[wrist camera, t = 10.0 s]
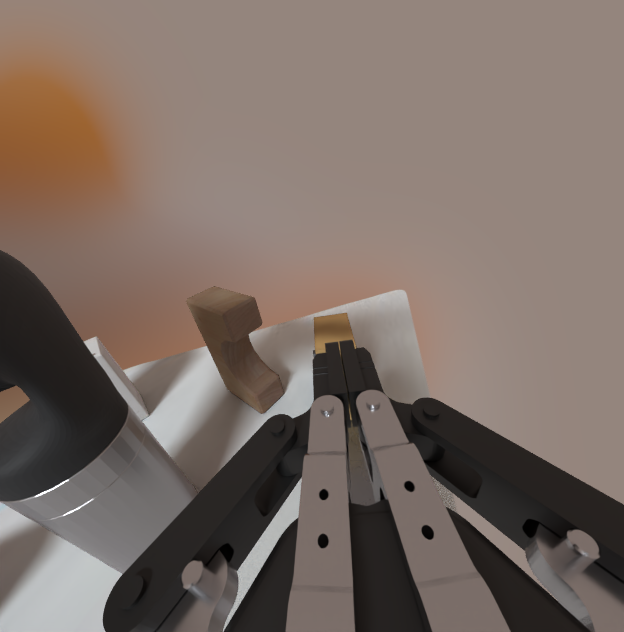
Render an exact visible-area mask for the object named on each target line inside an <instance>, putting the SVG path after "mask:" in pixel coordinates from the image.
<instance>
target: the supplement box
mask: <svg viewBox="0 0 624 632" xmlns="http://www.w3.org/2000/svg"><path fill="white" fill-rule="evenodd" d="M84 343H85V345H86V346H87V347H88V349H89V350H90V352H91V353H92V355H93V356H94V357H95V358H96V360H97V361H98V362H99V364H100V365H101V366H102V368H103V369H104V370H105V372H106V373H107V375H108V376H109V378H110V379H111V381H112V383H113V384H114V386H115V387H116V389H117V390H118V392H119V393H120V394H121V396H122V397H123V398H124V399H125V401H126V402H127V403H128V405H129V406H130V407H131V408H132V410H133V411H134V412H135V413H136V415H137V416H138V417H139V418H140V420H143V419H145V418H146V417H148V416H149V414H148V411H147V409H146V406H145V404H144V402H143V399H142V397H141V395H140V393H139V392H138V390H137V389H136V388H135V386H134V385H133V384H132V382H131V381H130V380H129V378H128V377H127V376H126V374H125V373H124V372H123V370H122V369H121V368H120V366H119V365H118V364H117V363H116V361H115V360H114V359H113V357H112V356H111V355H110V353H109V352H108V351H107V349H106V348H105V347H104V345H103V344H102V343H101V341H100V340H99V339H98V337H94V338H91V339H89V340H87V341H84Z"/></svg>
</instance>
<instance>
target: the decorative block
mask: <svg viewBox="0 0 624 632" xmlns="http://www.w3.org/2000/svg"><path fill="white" fill-rule="evenodd" d="M186 302H187V305H188V307H189V309H190V311H191V313H192V315H193V317H194V319H195V322H196V323H197V326H198V328H199V330H200V332H201V334H202V336H203V338H204V341H205V343H206V345H207V347H208V349H209V351H210V353H211V356H212V358H213V360H214V362H215V364H216V366H217V368H218V371H219V373H220V375H221V377H222V379H223V381H224V383H225V385H226V387H227V389H228V390H229V391H230V392H232V393H233V394H235V395H236V396H237V397H239V398H240V399H241V400H243V401H244V402H246V403H247V404H248V405H250V406H251V407H252V408H254V409H255V410H257V411H258V412H259V413H261V414H263V413H265V412H266V411H267V410H268V409H269V408H270V407H271V406H272V405H273V404H274V403H275V402H276V401H277V400H278V399H279V398H280V397H281V396H282V395H283V394H284V391H283V388H282V385H281V381H280V378H279V375H278V374H276V373H275V372H273V371H272V370H271V369H269V368H268V367H267V365H266V364H265V363H264V362H263V361H262V360H261V359H260V357H259V356H258V355H257V353H256V352H255V351H254V349H253V346H252V344H251V342H250V339H249V335H248V334H249V333H251V332H252V331H254V330H255V329H257V328H258V327H260V326H261V325H262V319H261V317H260V313H259V310H258V307H257V303H256V300H255V298H254V297H251V296H248V295H244V294H240V293H236V292H233V291H229V290H226V289H222V288H219V287H215V286H214V287H212V288H209V289H207V290H205V291H203V292H201V293H199V294H196V295H194V296H192V297H190V298H188V299H187V301H186Z"/></svg>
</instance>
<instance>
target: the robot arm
mask: <svg viewBox="0 0 624 632" xmlns="http://www.w3.org/2000/svg"><path fill="white" fill-rule="evenodd" d="M339 345H340V350H339ZM325 350H326V353H319V354H316V356H315V358H314V359H313V385H314V401H313V404H312V406H311V408H310V409H309V410H308V411H307V412H305V413H304V414H302V415H300V416H298V417H295V418H293V419H292V418H291V417H290V416H288V415H285V414H279V415H275V416H273V417H271V418H270V419H268V420H267V421H266V422H265V423H264V424H263V425H262V426H261V427H260V429H259V430H258V431H257V432H256V433H255V434H254V435H253V436H252V437H251V438H250V439H249V440H248V441H247V442H246V443H245V445H244V446H243V447H242V448H241V449H240V450H239V451H238V452H237V453H236V454H235V455H234V456H233V457H232V458H231V459H230V460H229V462H228V463H227V464H226V465H225V466H224V467H223V468H222V469H221V470H220V471H219V472H218V473H217V474H216V475H215V476H214V478H213V479H212V480H211V481H210V482H209V483H208V484H207V485H206V486H205V487H204V488H203V489H202V490H201V491H200V492H199V493H198V492H197V491H196V489H195V488H194V486H193V485H192V484H191V483H190V481H189V480H188V479H187V478H186V476H185V475H184V473H183V472H182V471H181V470H180V468H179V467H178V466H177V465H176V463H175V462H174V461H173V460H172V458H171V457H170V456H169V455H168V453H167V452H166V451H165V450H164V448H163V447H162V446H161V445H160V443H159V442H158V441H157V440H156V438H155V437H154V436H153V434H152V433H151V432H150V431H149V429H148V428H147V427H146V426H145V424H144V423H143V422H142V421H141V420H140V418H139V417H138V416H137V415H136V413H135V412H134V411H133V410H132V408H131V407H130V406H129V405H128V403H127V402H126V401H125V399H124V398H123V397H122V396H121V394H120V393H119V392H118V390H117V389H116V387H115V386H114V384H113V383H112V381H111V379H110V378H109V376H108V375H107V373H106V372H105V370H104V369H103V368H102V366H101V365H100V364H99V362H98V361H97V360H96V358H95V357H94V356H93V355H92V353H91V352H90V350H89V349H88V347H87V346H86V345H85V343H84V342H83V340H82V339H81V337H80V336H79V334H78V333H77V331H76V330H75V328H74V327H73V325H72V324H71V323H70V321H69V319H68V318H67V316H66V315H65V314H64V312H63V310H62V309H61V308H60V306H59V304H58V303H57V302H56V300H55V299H54V298H53V296H52V295H51V293H50V292H49V291H48V289H47V288H46V287H45V286H44V285H43V283H42V282H41V281H40V280H39V279H38V278H37V277H36V275H35V274H34V273H32V272H31V271H30V270H29V269H28V268H27V267H25V265H23V264H22V263H21V262H20V261H18V260H17V259H15V258H14V257H12V256H11V255H9V254H7V253H5V252H3V251H1V250H0V392H1V391H3V390H6V389H9V388H11V387H14V386H16V385H17V386H18V387H20V388H21V389H22V390H23V392H24V393H25V394H26V395H27V396H28V397H29V399H30V401H29V402H27V403H26V404H24V405H23V406H22V407H21V408H19V409H18V410H17V411H15V412H14V413H13V414H11V415H10V416H9V417H8V418H6V419H5V420H4V421H3V422H2V423H1V424H0V502H2V503H3V504H5V505H7V506H8V507H10V508H12V509H14V510H15V511H17V512H19V513H20V514H22V515H24V516H25V517H27V518H29V519H31V520H33V521H34V522H36V523H38V524H40V525H41V526H43V527H45V528H46V529H48V530H50V531H51V532H53V533H55V534H56V535H58V536H60V537H61V538H63V539H65V540H67V541H68V542H70V543H72V544H73V545H75V546H77V547H78V548H80V549H82V550H83V551H85V552H87V553H89V554H90V555H92V556H94V557H95V558H97V559H99V560H100V561H102V562H104V563H105V564H107V565H108V566H110V567H112V568H114V569H115V570H117V571H119V572H121V573H122V574H123V575H122V576H121V577H120V578H119V580H118V581H117V582H116V584H115V586H114V587H113V589H112V591H111V593H110V595H109V597H108V599H107V602H106V605H105V608H104V613H103V626H104V629H105V631H106V632H223V628H224V625H225V622H226V619H227V617H228V615H229V613H230V611H231V609H232V607H233V605H234V602H235V600H236V596H237V592H238V575H237V570H238V569H239V567H240V566H241V564H242V563H243V562H244V560H245V559H246V557H247V556H248V554H249V553H250V551H251V550H252V548H253V547H254V546H255V544H256V543H257V541H258V540H259V538H260V537H261V535H262V534H263V532H264V531H265V530H266V528H267V527H268V525H269V524H270V522H271V521H272V519H273V518H274V516H275V515H276V513H277V512H278V511H279V509H280V508H281V506H282V505H283V503H284V502H285V500H286V499H287V497H288V496H289V495H290V493H291V492H292V490H293V489H294V487H295V486H296V484H297V483H298V481H299V480H300V479H301V477H302V483H301V495H300V507H299V517H298V518H297V519H296V520H295V521H294V522H292V523H291V524H290V526H289V527H288V528H287V529H286V530H285V531H284V533H283V534H282V535H281V537H280V538H279V540H278V542H277V543H276V545H275V547H274V548H273V550H272V552H271V553H270V555H269V557H268V558H267V560H266V562H265V563H264V565H263V567H262V568H261V570H260V572H259V573H258V575H257V577H256V578H255V580H254V582H253V583H252V585H251V587H250V588H249V590H248V592H247V593H246V595H245V597H244V598H243V600H242V602H241V603H240V605H239V607H238V609H237V610H236V612H235V614H234V615H233V617H232V619H231V620H230V622H229V624H228V625H227V627H226V629H225V630H224V632H624V505H623V504H622V503H620V502H618V501H616V500H614V499H613V498H611V497H609V496H607V495H605V494H604V493H602V492H600V491H598V490H597V489H595V488H593V487H591V486H590V485H588V484H586V483H584V482H582V481H581V480H579V479H577V478H575V477H574V476H572V475H570V474H568V473H566V472H565V471H563V470H561V469H559V468H557V467H556V466H554V465H552V464H550V463H549V462H547V461H545V460H543V459H542V458H540V457H538V456H536V455H535V454H533V453H531V452H529V451H527V450H525V449H524V448H522V447H520V446H519V445H517V444H515V443H513V442H511V441H510V440H508V439H506V438H504V437H502V436H501V435H499V434H497V433H495V432H494V431H492V430H490V429H488V428H487V427H485V426H483V425H481V424H479V423H478V422H475V421H474V420H472V419H471V418H469V417H467V416H465V415H463V414H462V413H459V412H458V411H456V410H454V409H453V408H451V407H449V406H447V405H446V404H444V403H442V402H440V401H438V400H436V399H433V398H421V399H418V400H416V401H415V402H414V403H413V405H411V404H405V403H399V402H396V401H394V400H392V399H390V398H389V397H387V396H386V395H385V393H384V392H383V389H382V387H381V384H380V381H379V378H378V375H377V372H376V369H375V366H374V363H373V361H372V358H371V355H370V353H369V352H368V351H367V350H366V349H365V348H364V347H363V348H356V349H355V347H354V343H353V340H352V339H351V340H344V341H339V344H338V341H337V342H330V343H325ZM340 353H341V355H340ZM349 408H350V411H349ZM350 414H351V419H352V425H353V427H358V431H359V437H360V445H361V448H362V452H363V456H364V459H365V463H366V467H367V470H368V474H369V477H370V481H371V485H372V489H373V494H374V499H375V503H374V504H372V505H369V506H364V505H360V504H355V503H353V497H352V486H351V472H350V458H349V445H348V443H349V434H348V428H351V419H350ZM430 475H431V476H432V477H434V478H435V479H436V480H437V481H439V482H440V483H441V484H442V485H444V486H445V487H446V488H447V489H449V490H450V491H451V492H452V493H454V494H455V495H456V496H457V497H459V498H460V499H461V500H462V501H463V502H465V503H466V504H467V505H468V506H470V507H471V508H472V509H473V510H475V511H476V512H477V513H478V514H480V515H481V516H482V517H483V518H485V519H486V520H487V521H488V522H490V523H491V524H492V525H493V526H495V527H496V528H497V529H498V530H500V531H501V532H502V533H503V534H505V535H506V536H507V537H508V538H510V539H511V540H512V541H514V542H515V543H516V544H517V545H518V546H520V547H521V548H522V549H523V550H525V553H526V558H527V561H528V563H529V566H530V568H531V570H532V572H533V573H534V575H535V576H536V577H537V579H538V580H539V581H540V582H541V583H542V585H543V586H544V587H545V588H546V589H547V590H548V591H549V592H550V593H551V594H552V595H553V596H554V597H555V598H556V599H557V600H558V601H557V600H556V599H554V598H553V597H552V596H551V595H550V594H549V593H548V592H547V591H545V590H544V589H543V588H542V587H541V586H540V585H539V584H537V583H536V582H535V581H534V580H533V579H532V578H531V577H530V576H529V575H527V574H526V573H525V572H524V571H523V570H522V569H521V568H519V567H518V566H517V565H516V564H515V563H514V562H513V561H512V560H511V559H509V558H508V557H507V556H506V555H505V554H504V553H503V552H502V551H501V550H499V549H498V548H497V547H496V546H495V545H494V544H493V543H491V542H490V541H489V540H488V539H487V538H486V537H485V536H484V535H482V534H481V533H480V532H479V531H478V530H477V529H476V528H475V527H474V526H472V525H471V524H470V523H469V522H468V521H467V520H466V519H464V518H463V517H461V516H460V515H459V514H457V513H456V512H454V511H452V510H451V509H449V508H447V507H445V505H444V503H443V501H442V499H441V497H440V495H439V493H438V490H437V488H436V486H435V484H434V482H433V480H432V478H431V476H430Z"/></svg>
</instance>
